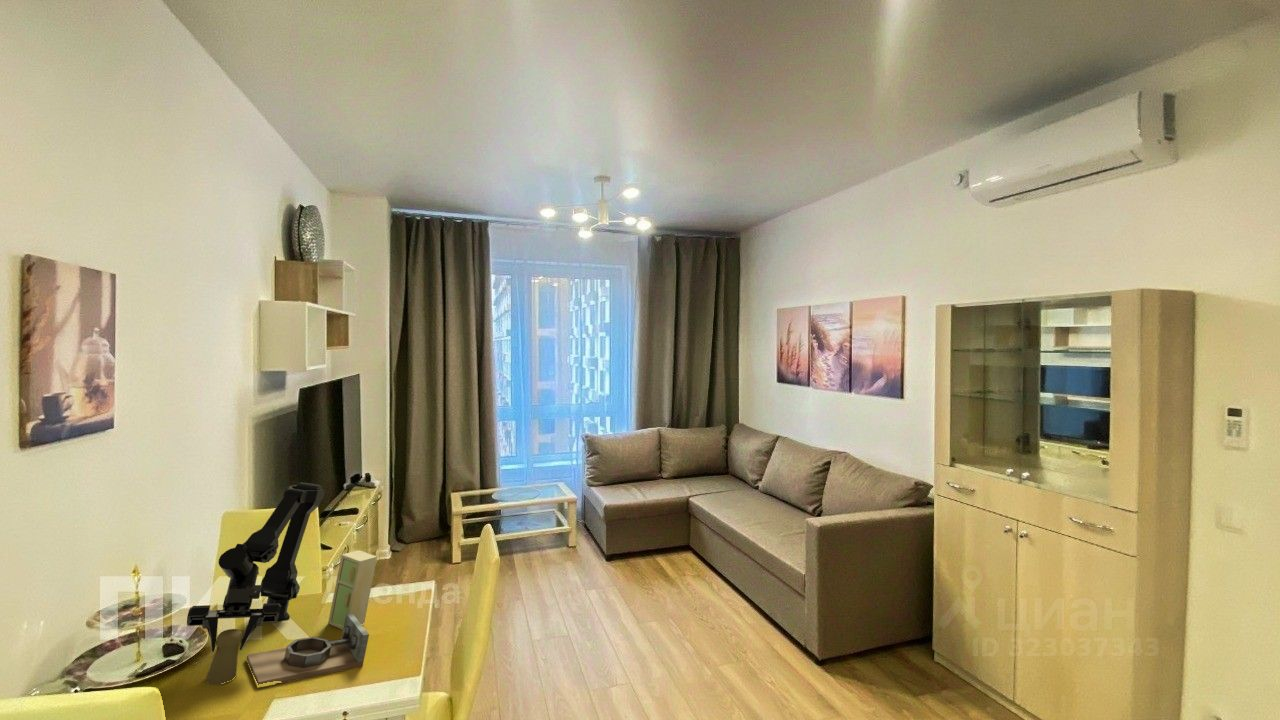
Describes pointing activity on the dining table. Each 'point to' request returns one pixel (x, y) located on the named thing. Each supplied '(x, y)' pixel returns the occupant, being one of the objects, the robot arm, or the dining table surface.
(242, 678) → the dining table surface
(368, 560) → the toy refrigerator
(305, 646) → the clip ring
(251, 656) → the wooden peg base
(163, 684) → the dining table surface
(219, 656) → the cork
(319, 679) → the dining table surface
